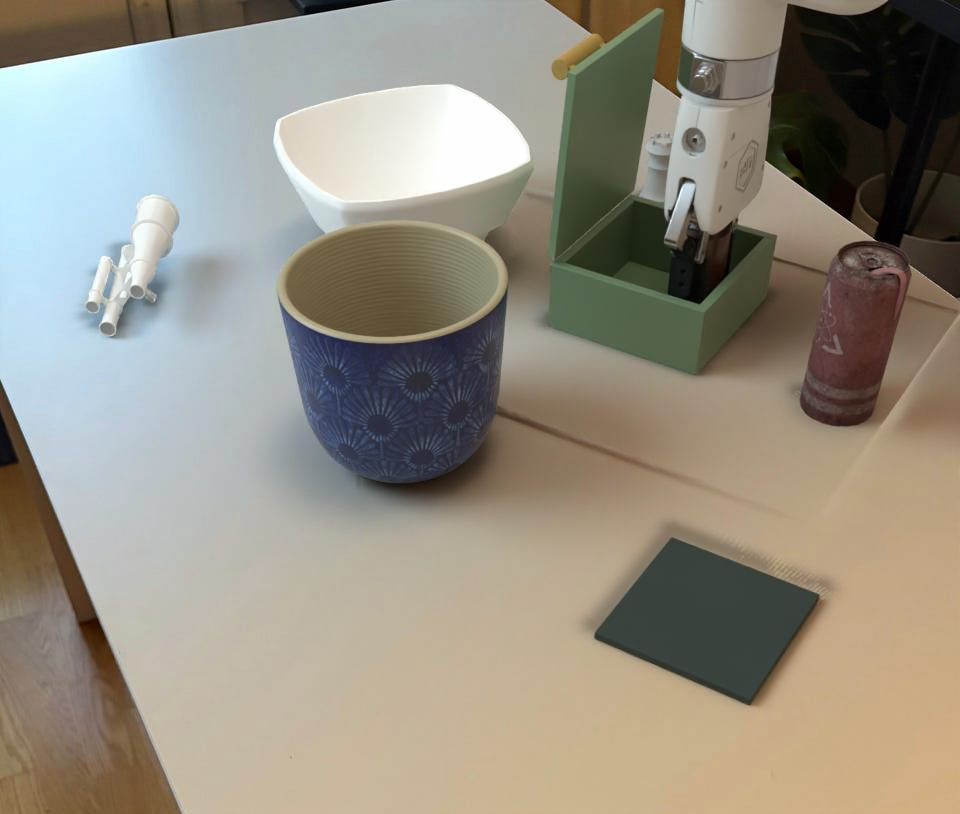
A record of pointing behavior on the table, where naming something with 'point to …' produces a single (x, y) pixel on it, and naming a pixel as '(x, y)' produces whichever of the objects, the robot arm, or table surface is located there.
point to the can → (855, 332)
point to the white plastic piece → (135, 261)
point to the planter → (396, 344)
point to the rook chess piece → (657, 167)
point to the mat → (708, 619)
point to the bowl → (405, 159)
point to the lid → (601, 126)
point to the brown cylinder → (714, 256)
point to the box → (652, 289)
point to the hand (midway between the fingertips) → (698, 283)
